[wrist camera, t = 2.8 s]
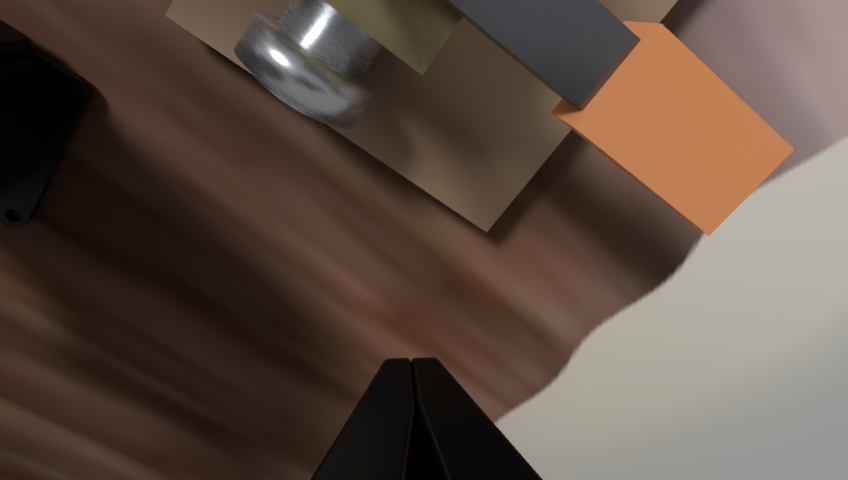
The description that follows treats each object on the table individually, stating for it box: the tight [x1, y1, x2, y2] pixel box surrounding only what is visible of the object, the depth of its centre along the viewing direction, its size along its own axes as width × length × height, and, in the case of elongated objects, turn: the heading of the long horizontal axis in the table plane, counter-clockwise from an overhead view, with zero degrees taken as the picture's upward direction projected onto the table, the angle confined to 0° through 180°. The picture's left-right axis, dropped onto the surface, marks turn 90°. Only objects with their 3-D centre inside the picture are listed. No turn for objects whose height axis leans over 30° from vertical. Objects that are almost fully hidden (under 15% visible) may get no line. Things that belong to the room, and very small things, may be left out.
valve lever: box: [442, 0, 794, 235], centre depth 11 cm, size 11×3×2 cm, turn 54°
